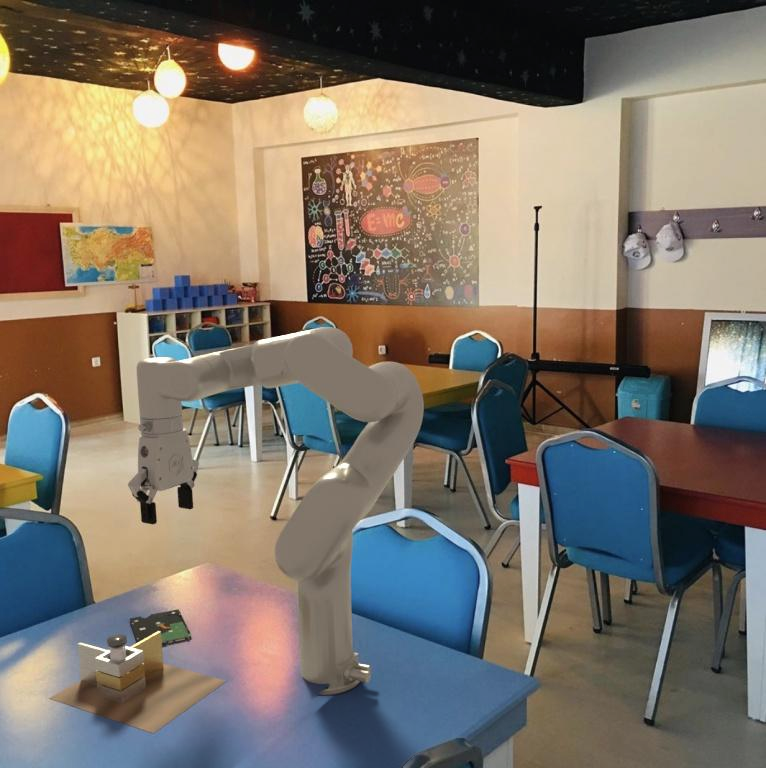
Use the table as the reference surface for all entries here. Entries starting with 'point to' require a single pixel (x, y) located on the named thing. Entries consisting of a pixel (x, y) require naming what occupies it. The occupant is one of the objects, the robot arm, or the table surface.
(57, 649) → the table surface
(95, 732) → the table surface
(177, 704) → the walnut board
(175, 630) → the disk drive
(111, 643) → the hinge pin
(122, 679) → the hinge
